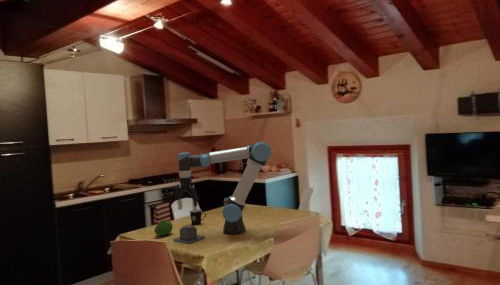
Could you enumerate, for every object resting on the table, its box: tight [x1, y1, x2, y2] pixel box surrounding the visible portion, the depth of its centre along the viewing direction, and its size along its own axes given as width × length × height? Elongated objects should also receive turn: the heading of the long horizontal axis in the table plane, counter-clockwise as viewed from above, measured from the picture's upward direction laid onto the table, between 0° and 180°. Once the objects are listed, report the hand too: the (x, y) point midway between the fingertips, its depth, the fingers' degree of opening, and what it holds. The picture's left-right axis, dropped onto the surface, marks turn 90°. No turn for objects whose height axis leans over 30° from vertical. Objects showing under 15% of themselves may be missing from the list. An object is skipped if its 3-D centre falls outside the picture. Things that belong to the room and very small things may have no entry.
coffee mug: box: [189, 209, 207, 226], centre depth 280 cm, size 12×9×10 cm
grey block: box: [178, 224, 198, 240], centre depth 240 cm, size 8×8×7 cm
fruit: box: [154, 219, 173, 236], centre depth 254 cm, size 15×10×10 cm, turn 157°
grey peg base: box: [172, 234, 206, 245], centre depth 241 cm, size 14×14×6 cm
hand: (187, 210), depth 240 cm, fingers open, 13 cm apart
